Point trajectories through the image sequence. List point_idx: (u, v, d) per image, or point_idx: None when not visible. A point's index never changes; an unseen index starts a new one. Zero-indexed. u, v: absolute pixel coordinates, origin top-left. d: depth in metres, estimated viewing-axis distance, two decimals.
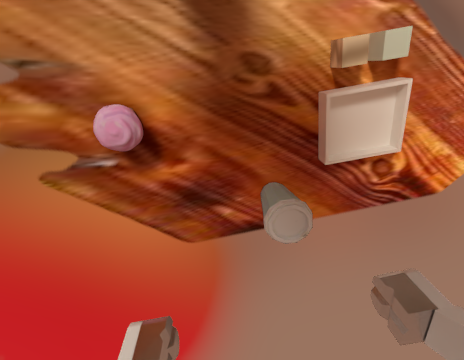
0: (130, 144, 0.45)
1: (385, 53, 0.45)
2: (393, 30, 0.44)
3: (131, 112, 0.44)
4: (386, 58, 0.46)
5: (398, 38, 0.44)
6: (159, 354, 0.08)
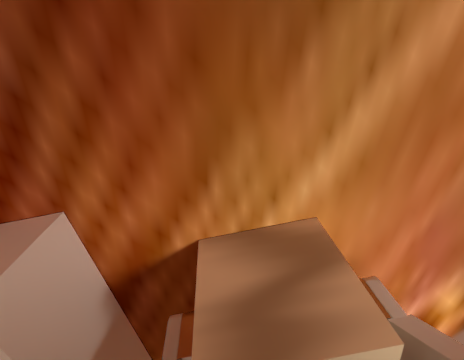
0: None
1: None
2: None
3: None
4: None
5: None
6: None
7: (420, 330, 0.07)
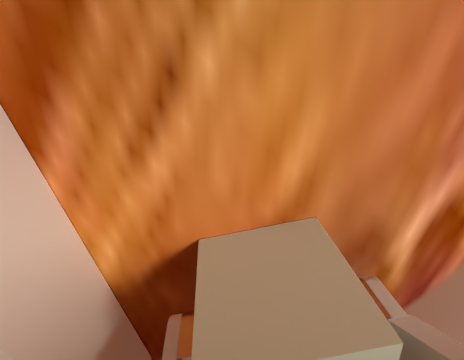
0: None
1: None
2: None
3: None
4: None
5: None
6: None
7: (420, 330, 0.07)
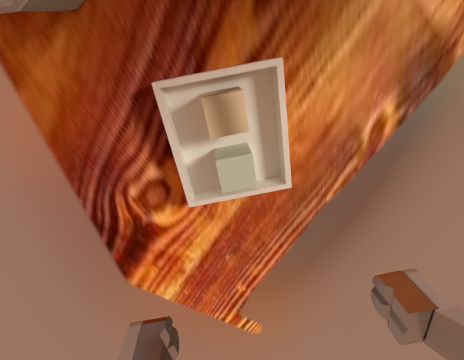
0: None
1: (224, 162, 0.31)
2: (252, 163, 0.32)
3: None
4: (218, 165, 0.32)
5: (243, 173, 0.32)
6: (159, 354, 0.08)
7: None
